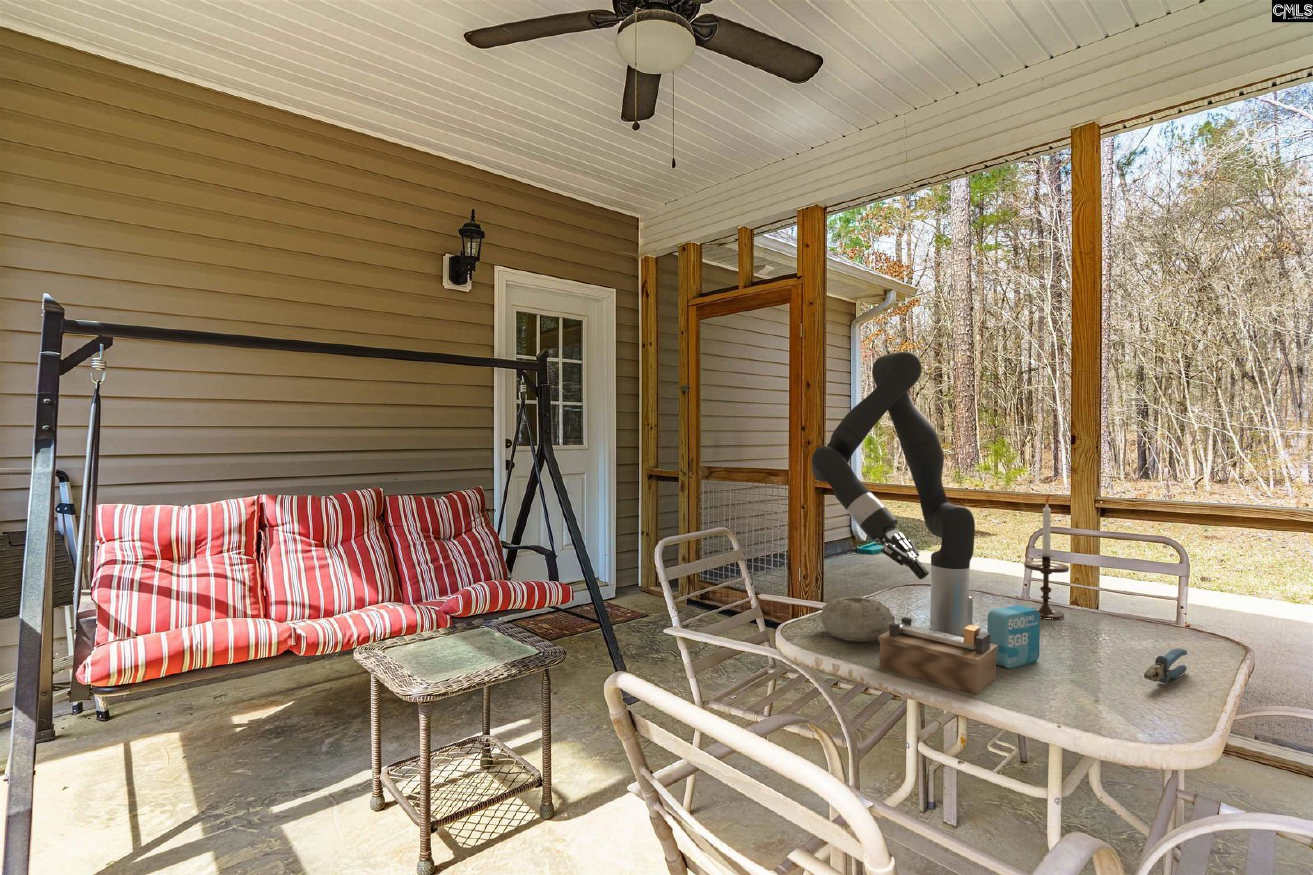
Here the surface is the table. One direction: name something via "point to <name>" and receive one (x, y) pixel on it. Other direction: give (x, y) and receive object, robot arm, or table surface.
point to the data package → (1015, 635)
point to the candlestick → (1047, 567)
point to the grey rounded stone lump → (856, 618)
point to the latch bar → (945, 635)
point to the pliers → (1166, 667)
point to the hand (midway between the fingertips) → (924, 576)
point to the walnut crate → (939, 659)
